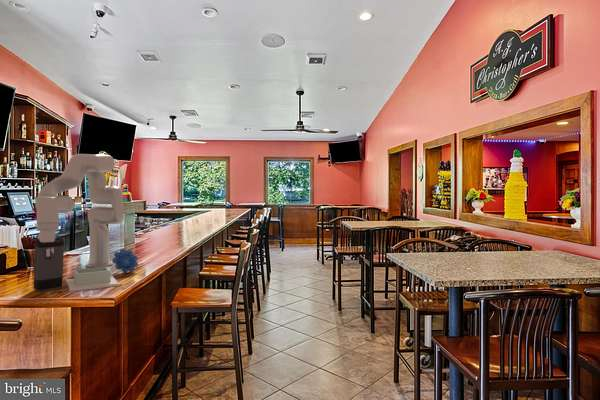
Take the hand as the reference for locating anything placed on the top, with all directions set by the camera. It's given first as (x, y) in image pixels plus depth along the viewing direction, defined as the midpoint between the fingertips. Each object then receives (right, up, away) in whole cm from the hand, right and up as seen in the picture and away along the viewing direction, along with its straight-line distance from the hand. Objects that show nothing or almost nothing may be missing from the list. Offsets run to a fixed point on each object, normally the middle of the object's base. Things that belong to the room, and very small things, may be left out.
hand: (47, 270), depth 153 cm
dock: (+13, -8, +10) cm, 18 cm away
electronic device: (0, -8, 0) cm, 8 cm away
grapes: (+18, -7, +30) cm, 36 cm away
